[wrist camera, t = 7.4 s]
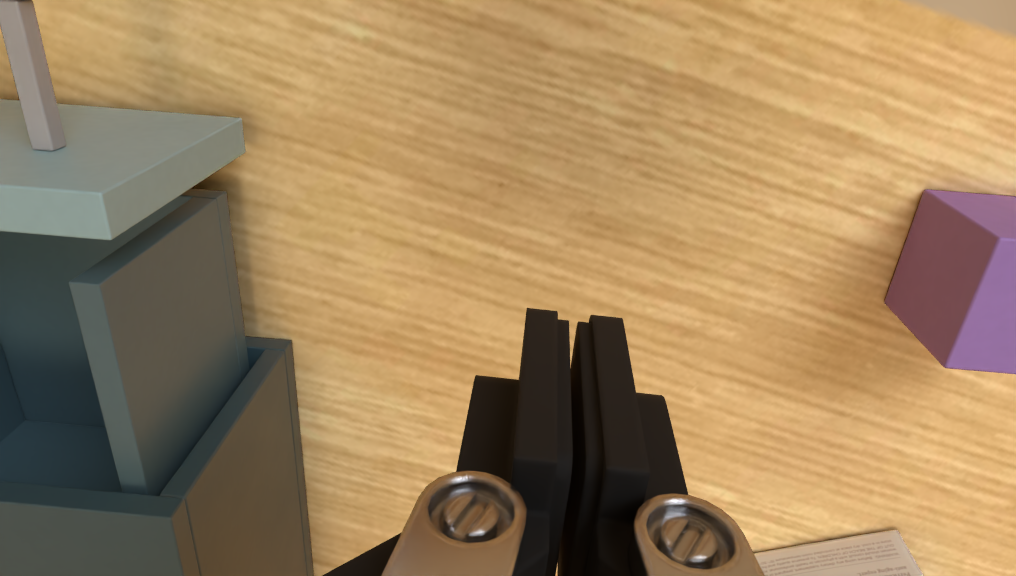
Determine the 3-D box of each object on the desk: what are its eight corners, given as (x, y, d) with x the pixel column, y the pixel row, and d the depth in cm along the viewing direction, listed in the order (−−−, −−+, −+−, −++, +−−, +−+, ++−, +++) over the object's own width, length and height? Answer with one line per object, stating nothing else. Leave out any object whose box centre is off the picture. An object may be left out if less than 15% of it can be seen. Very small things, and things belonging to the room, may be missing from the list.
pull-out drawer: (-149, -82, 20) (-514, -98, 13) (223, -56, 20) (46, -58, 13) (14, 415, 29) (-159, 563, 22) (279, 439, 28) (189, 598, 21)
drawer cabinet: (-13, 312, 28) (-270, 476, 19) (291, 339, 27) (171, 518, 19) (69, 565, 34) (-95, 772, 26) (315, 589, 34) (234, 807, 25)
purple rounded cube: (882, 302, 25) (944, 369, 21) (923, 188, 23) (999, 237, 19) (1004, 313, 25) (1088, 381, 21) (1055, 198, 23) (1160, 250, 19)
